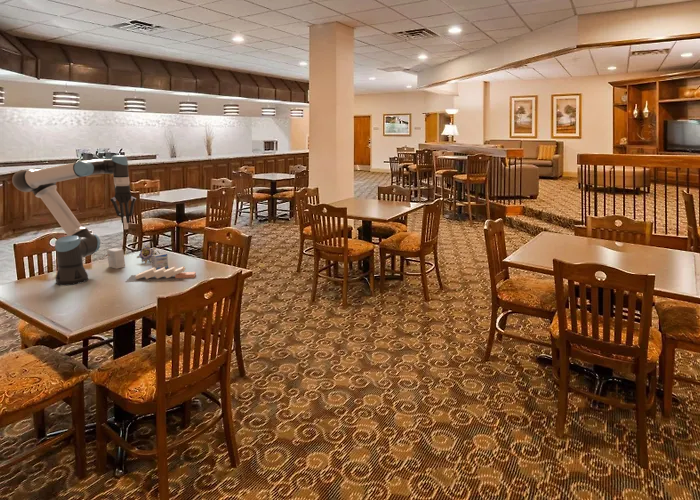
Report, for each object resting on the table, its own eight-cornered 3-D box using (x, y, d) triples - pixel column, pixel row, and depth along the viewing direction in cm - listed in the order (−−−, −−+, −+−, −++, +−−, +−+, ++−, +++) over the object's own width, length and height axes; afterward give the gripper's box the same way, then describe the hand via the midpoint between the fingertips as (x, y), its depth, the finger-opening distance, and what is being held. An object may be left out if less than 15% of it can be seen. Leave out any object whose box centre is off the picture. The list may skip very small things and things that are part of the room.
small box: (125, 266, 297) (123, 249, 295) (116, 269, 293) (114, 251, 290) (117, 264, 301) (115, 247, 299) (108, 267, 297) (106, 249, 294)
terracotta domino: (175, 275, 273) (194, 274, 274) (176, 272, 278) (195, 271, 279) (175, 278, 273) (194, 277, 275) (176, 275, 278) (195, 275, 280)
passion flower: (147, 271, 307) (133, 257, 303) (151, 263, 317) (137, 249, 312) (161, 261, 306) (147, 247, 301) (165, 254, 316) (151, 239, 311)
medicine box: (156, 271, 289) (155, 256, 287) (152, 269, 291) (150, 255, 289) (168, 268, 295) (167, 253, 293) (164, 267, 298) (163, 252, 296)
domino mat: (125, 282, 266) (125, 282, 266) (131, 276, 278) (131, 275, 278) (182, 280, 270) (182, 280, 270) (186, 274, 283) (186, 273, 283)
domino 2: (144, 276, 271) (162, 269, 271) (147, 273, 275) (164, 266, 276) (146, 279, 271) (164, 272, 272) (148, 276, 276) (165, 269, 276)
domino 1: (135, 276, 270) (152, 269, 270) (137, 274, 275) (154, 267, 275) (136, 279, 270) (154, 272, 271) (138, 277, 275) (156, 270, 276)
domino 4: (165, 275, 272) (182, 268, 273) (166, 273, 277) (184, 266, 278) (166, 278, 273) (184, 271, 273) (168, 275, 277) (185, 268, 278)
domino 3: (155, 275, 271) (172, 268, 272) (157, 273, 276) (174, 266, 277) (156, 278, 272) (174, 271, 272) (158, 276, 277) (176, 269, 277)
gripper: (106, 186, 263) (111, 230, 268) (133, 185, 265) (137, 230, 270) (111, 184, 270) (115, 227, 275) (136, 184, 272) (140, 227, 277)
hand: (126, 228), depth 273 cm, fingers closed
